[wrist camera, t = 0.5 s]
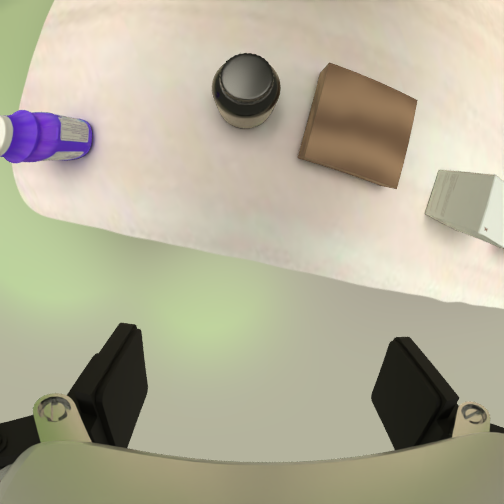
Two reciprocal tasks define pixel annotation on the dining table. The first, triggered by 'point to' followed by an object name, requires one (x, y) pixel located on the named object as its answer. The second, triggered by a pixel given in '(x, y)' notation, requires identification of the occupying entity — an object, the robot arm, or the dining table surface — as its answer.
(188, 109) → the dining table surface
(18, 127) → the bottle
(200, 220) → the dining table surface
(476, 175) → the supplement box
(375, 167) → the walnut block
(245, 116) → the supplement bottle
